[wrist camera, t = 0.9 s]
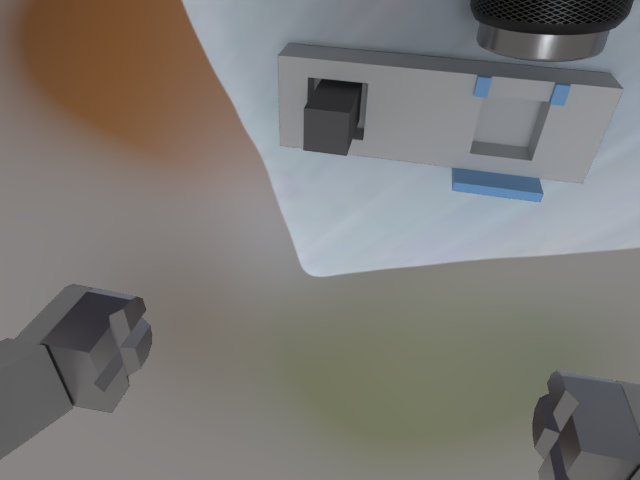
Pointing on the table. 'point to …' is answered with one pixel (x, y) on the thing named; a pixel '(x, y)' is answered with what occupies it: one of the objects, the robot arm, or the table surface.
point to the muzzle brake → (547, 27)
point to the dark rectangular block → (332, 116)
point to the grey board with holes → (460, 115)
